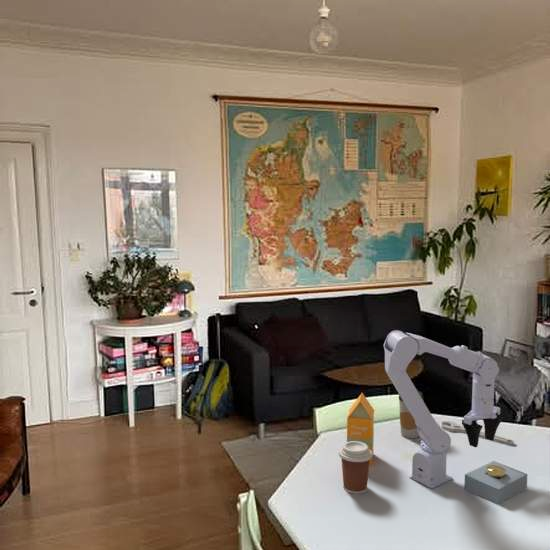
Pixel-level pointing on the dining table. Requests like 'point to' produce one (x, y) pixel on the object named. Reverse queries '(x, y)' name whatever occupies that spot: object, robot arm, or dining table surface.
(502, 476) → the brass door knob
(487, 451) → the dining table surface
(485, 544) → the dining table surface
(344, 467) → the coffee cup
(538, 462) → the dining table surface
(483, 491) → the block
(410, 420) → the coffee cup
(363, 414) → the orange juice
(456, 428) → the adjustable wrench
